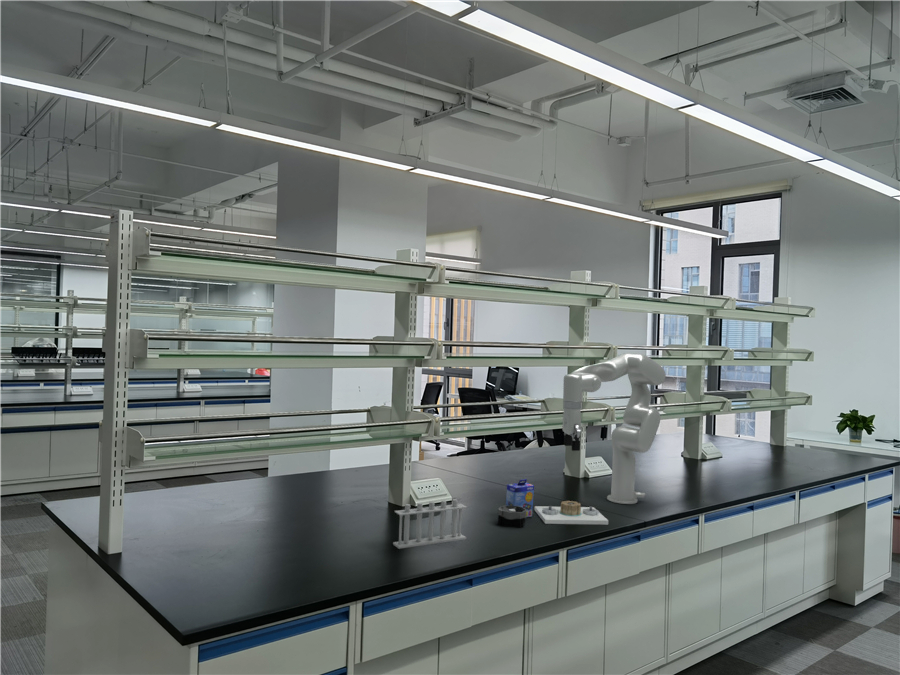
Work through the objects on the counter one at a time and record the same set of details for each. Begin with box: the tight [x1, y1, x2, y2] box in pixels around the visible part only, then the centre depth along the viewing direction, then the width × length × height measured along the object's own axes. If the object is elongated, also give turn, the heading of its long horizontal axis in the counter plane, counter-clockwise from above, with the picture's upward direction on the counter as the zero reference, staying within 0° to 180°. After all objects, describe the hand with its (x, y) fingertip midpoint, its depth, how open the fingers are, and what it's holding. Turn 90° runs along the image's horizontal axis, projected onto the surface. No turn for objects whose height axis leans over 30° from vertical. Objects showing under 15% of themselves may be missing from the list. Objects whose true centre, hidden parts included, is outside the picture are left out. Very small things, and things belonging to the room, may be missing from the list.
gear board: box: [534, 503, 609, 526], centre depth 250 cm, size 24×18×5 cm
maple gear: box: [560, 500, 582, 516], centre depth 250 cm, size 8×8×4 cm
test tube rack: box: [392, 498, 468, 550], centre depth 214 cm, size 25×4×13 cm, turn 119°
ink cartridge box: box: [505, 478, 535, 518], centre depth 248 cm, size 10×6×14 cm, turn 124°
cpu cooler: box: [497, 505, 527, 528], centre depth 239 cm, size 10×6×10 cm
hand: (571, 448), depth 259 cm, fingers open, 9 cm apart
